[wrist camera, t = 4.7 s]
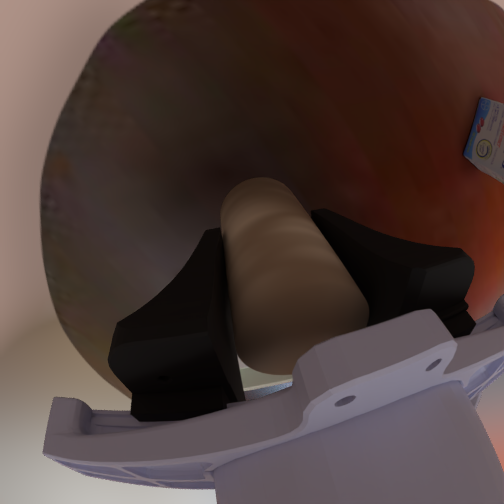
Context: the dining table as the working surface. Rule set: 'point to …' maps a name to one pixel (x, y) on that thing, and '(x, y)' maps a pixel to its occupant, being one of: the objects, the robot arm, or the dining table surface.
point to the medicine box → (487, 139)
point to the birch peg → (282, 278)
